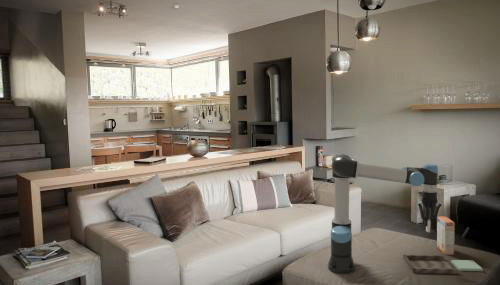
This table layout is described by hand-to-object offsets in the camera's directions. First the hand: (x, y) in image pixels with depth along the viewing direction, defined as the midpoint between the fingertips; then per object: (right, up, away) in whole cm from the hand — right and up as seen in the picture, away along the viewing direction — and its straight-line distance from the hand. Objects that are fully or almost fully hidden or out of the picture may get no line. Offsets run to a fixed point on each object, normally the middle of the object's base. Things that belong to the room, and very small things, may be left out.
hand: (427, 231), depth 224 cm
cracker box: (+21, -18, +22) cm, 35 cm away
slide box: (0, -20, -1) cm, 20 cm away
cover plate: (+20, -20, -3) cm, 29 cm away
